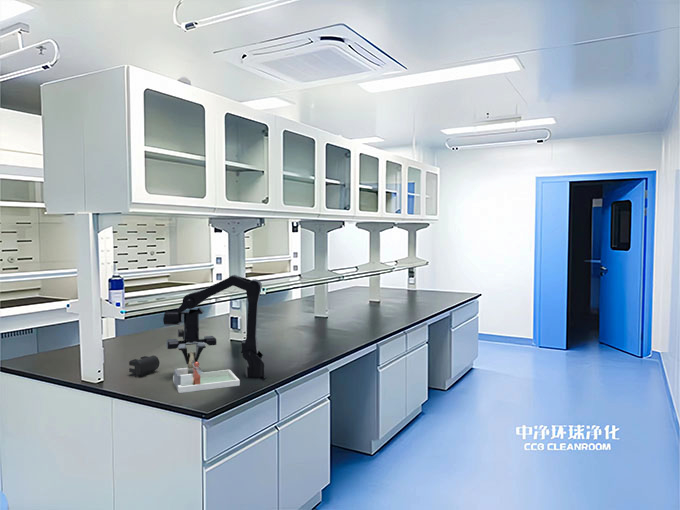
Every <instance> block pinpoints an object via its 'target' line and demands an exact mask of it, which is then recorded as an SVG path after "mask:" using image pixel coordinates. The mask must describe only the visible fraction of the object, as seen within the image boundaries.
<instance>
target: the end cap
mask: <svg viewBox="0 0 680 510" xmlns="http://www.w3.org/2000/svg"><path fill="white" fill-rule="evenodd" d="M128 365H129V366H130V367H129V369H128V372H129V376H130V377H136V378H139V377H141V376H144V375H148V374H150V373H153V372H155V371H156V370H158V369H159V367H160V360H159V358H158V356H157V355H151V356H150V355H149V356H147V355H146V356H145V355H144V356H141V357H140V358H139V359H137V358H134V359H131V360H129V361H128ZM131 366H133V367H134V368H131Z"/></svg>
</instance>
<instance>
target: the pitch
mask: <svg viewBox="0 0 680 510" xmlns="http://www.w3.org/2000/svg"><path fill="white" fill-rule="evenodd" d="M192 377H193V372H192V373H189V368H188V367H183V368H182V367H180V368H174V369H173V375H172V382H173V385H174V386H175V388H176V391H177V392H178V394H182V393H183V394H185V393H193V392H198V391H206V390H207V391H208V390H214V389H215V390H217V389H222V388H230V387H239V386H240V385H241V384H240V383H241V380H240V379H239V378H238V376H236V374H235V373H234V372H233V371H232V370H231V369H230V368H229V369H222V370H212V371H204V372H203V371H202V375H200V384H197V385H192Z"/></svg>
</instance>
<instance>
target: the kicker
mask: <svg viewBox="0 0 680 510" xmlns="http://www.w3.org/2000/svg"><path fill="white" fill-rule="evenodd" d="M187 355H188V364H187V368H188V369H192V373H193V378H194V385H197V384H200V375H202V372H203V370H202V369H201V367H200V363H199V361H197V362H195V355H196V351H187Z"/></svg>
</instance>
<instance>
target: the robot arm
mask: <svg viewBox="0 0 680 510" xmlns="http://www.w3.org/2000/svg"><path fill="white" fill-rule="evenodd" d="M231 287H236V288H239V289H241V290H243V291H245V292H246V299H247V321H246V323H247V324H246V338H245V339H243V340H242V342H241V351H240V354H242V358H243V359H244V360H245V361H247V362H246V366H245V377H246V378H248V379H249V378H250V379H251V378H253V379H257V378H258V379H260V380H266V376H265V362H264V356H265V355H264V354H263V353H262V352H261V351H260V350H259V343H258V337H257V330H258V329H257V328H258V327H257V325H258V310H259V300H260V297H261V293H262V288H263V285H262V282H261V281H260V280H259V279H256V278H254V279H253V278H252V279H249V278H245V277H242V276H239V275H237V274H233V275H230V276H229V277H227V278H225V279H223V280H221V281H218V282H217V283H215V284H213V285H210V286H208V287H206V288H205V289H204V288H203V289H201V290H196V291H193V292H190V293H188V294H186V295H184V296H183V299H182V303H181V304H180V306H179V307H176V308H177V310H173V311H166V312H165V311H164V314H163V318H162V319H163V321H162V322H163V325H164V326H180V325H181V323H183V328H178V329H177V338H182V340H178V339H177V338H171V339H170V338H169V339H166V341H165V347H166V348H167V350H173V349H178V350H179V351H181V352H182V355H183V357H184V361H185V363H186V364H185V365H188V348H187V347H186V346H188V345H189V346H191V345H195V362H199V358H200V356H201V354H202V351H203V350H204V349H206V347H207V346H206V345H208V346H210V347H211V346H217V338H216V337H214V336H213V335H205V336H204V337H203V338H200V315H203V314H204V313H205V310H203V309H202V308H201V307H200V306H199V305H200V304H202V303H203V302H204V301H206V300H207V299H208V298H210V297H212V296H215V295H216V294H218V293H220V292H222V291H225V290H226V289H229V288H231ZM197 306H199V307H198V308H197V309H195V308H196V307H197ZM188 309H189V310H188ZM187 310H188V311H187Z"/></svg>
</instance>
